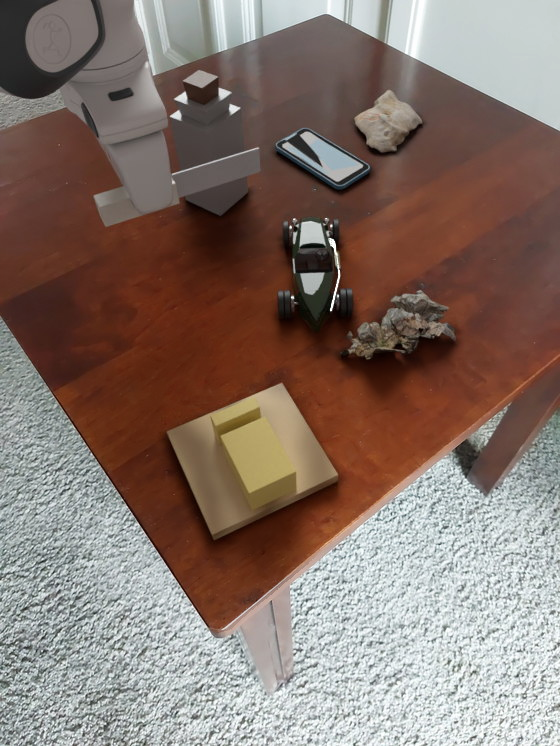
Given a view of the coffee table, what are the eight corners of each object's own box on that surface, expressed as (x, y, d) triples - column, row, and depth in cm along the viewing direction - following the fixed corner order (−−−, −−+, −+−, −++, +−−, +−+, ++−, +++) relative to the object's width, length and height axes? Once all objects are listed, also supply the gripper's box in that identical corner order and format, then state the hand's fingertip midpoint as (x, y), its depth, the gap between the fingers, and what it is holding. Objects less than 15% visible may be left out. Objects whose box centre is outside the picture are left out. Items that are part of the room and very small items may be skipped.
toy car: (342, 229, 85) (344, 201, 81) (354, 338, 73) (357, 311, 69) (277, 231, 85) (276, 203, 81) (278, 340, 73) (277, 314, 69)
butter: (251, 510, 59) (248, 493, 55) (224, 454, 62) (219, 435, 59) (297, 489, 60) (296, 471, 57) (267, 435, 64) (265, 415, 60)
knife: (105, 227, 67) (97, 204, 65) (99, 215, 69) (91, 192, 66) (264, 176, 72) (263, 152, 70) (256, 166, 74) (254, 142, 71)
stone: (385, 100, 104) (387, 84, 102) (436, 123, 99) (439, 107, 97) (335, 133, 99) (336, 117, 96) (386, 159, 94) (388, 142, 92)
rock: (323, 332, 74) (323, 311, 71) (426, 292, 77) (431, 270, 74) (357, 381, 69) (359, 361, 66) (465, 336, 72) (472, 315, 69)
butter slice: (219, 445, 63) (215, 426, 60) (214, 434, 64) (209, 415, 61) (262, 427, 64) (260, 407, 61) (256, 416, 65) (254, 396, 62)
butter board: (213, 540, 59) (211, 535, 57) (168, 438, 66) (166, 431, 64) (337, 481, 62) (338, 474, 61) (282, 389, 69) (282, 382, 68)
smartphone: (339, 188, 89) (272, 144, 95) (339, 193, 90) (272, 150, 96) (373, 166, 92) (305, 126, 98) (372, 172, 92) (305, 131, 99)
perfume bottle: (214, 176, 93) (197, 60, 78) (248, 191, 90) (237, 74, 76) (185, 199, 90) (163, 83, 75) (220, 216, 87) (203, 98, 73)
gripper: (46, 41, 62) (85, 159, 73) (103, 139, 50) (138, 261, 62) (105, 27, 63) (134, 144, 74) (173, 119, 52) (195, 241, 63)
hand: (136, 198), depth 68 cm, fingers closed on knife, 2 cm apart
